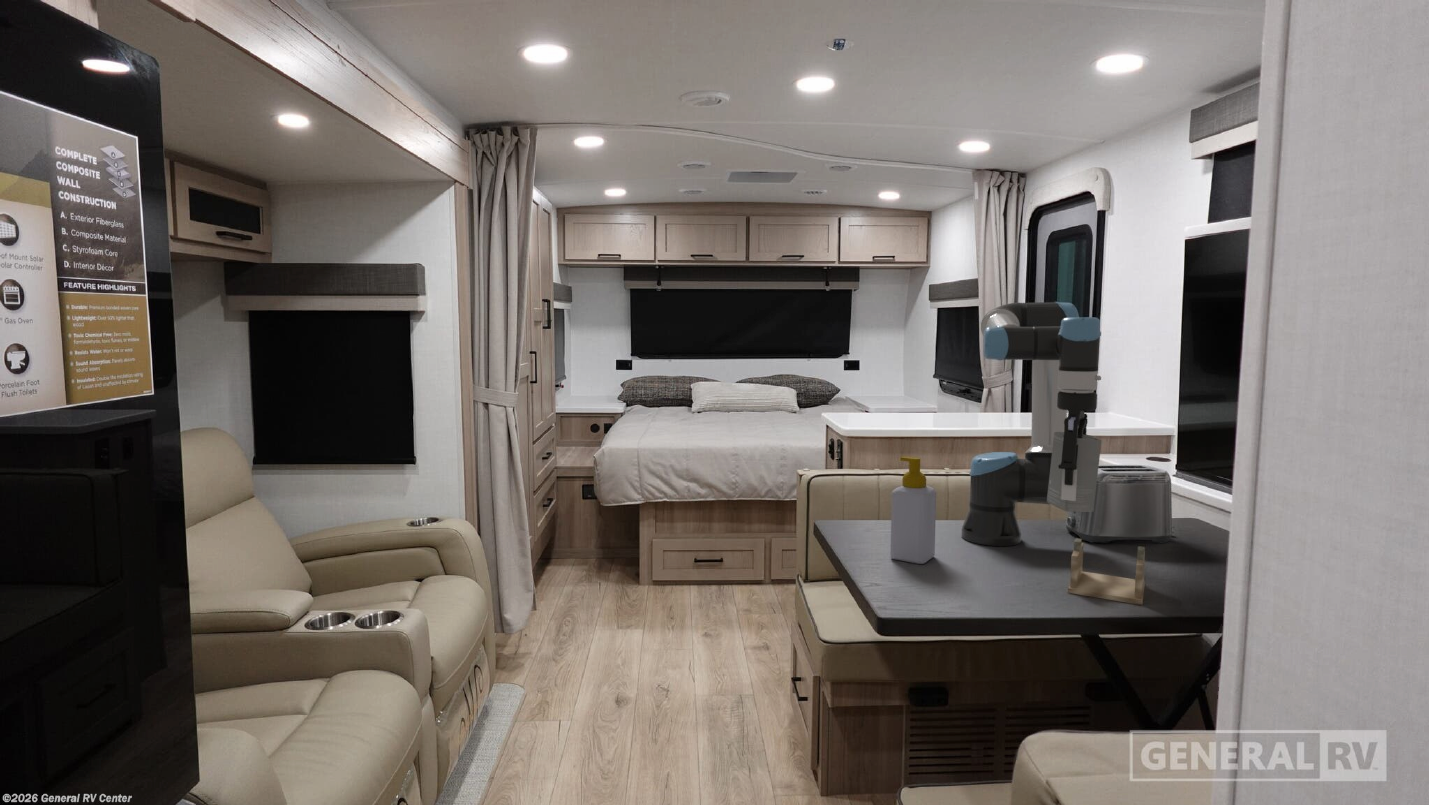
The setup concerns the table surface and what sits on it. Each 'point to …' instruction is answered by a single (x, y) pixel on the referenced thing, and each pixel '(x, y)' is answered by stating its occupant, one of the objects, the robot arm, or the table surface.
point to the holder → (1106, 580)
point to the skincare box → (1085, 474)
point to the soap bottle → (913, 517)
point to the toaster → (1127, 506)
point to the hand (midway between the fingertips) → (1072, 495)
